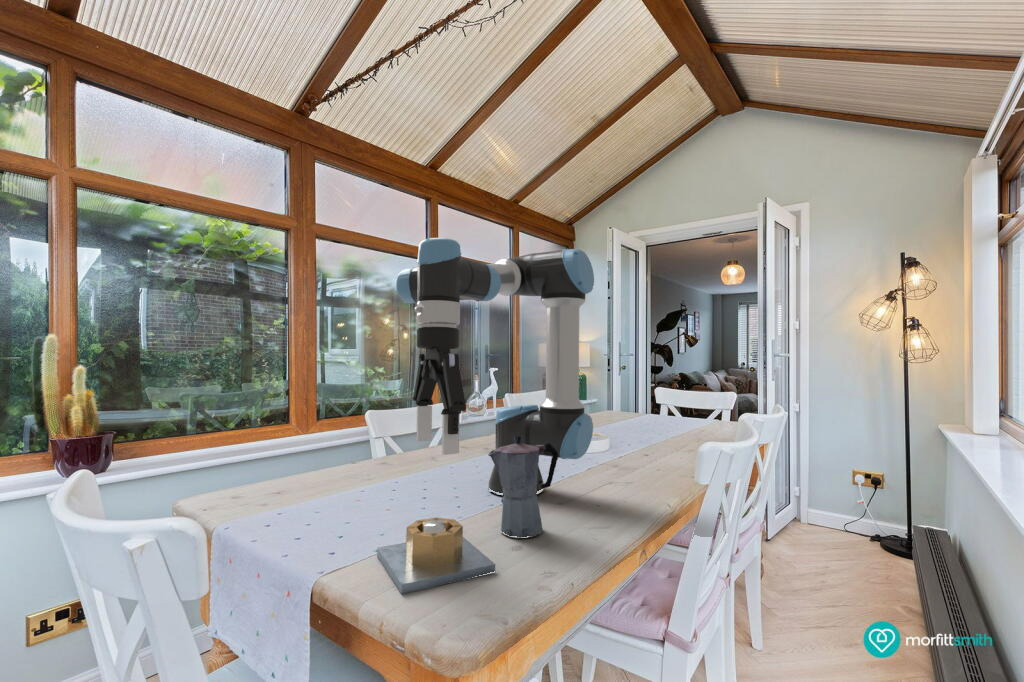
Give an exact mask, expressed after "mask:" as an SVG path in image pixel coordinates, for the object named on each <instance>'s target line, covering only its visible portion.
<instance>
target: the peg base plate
mask: <svg viewBox="0 0 1024 682" xmlns="http://www.w3.org/2000/svg"><path fill="white" fill-rule="evenodd" d="M445 529H446V523H445V522H444V521H440V520H431V521H427V522H425V523H424V532H427V533H439V532H445ZM376 549H377V551H376V557H377V558H378V560H379V561H380V563H381V564H382V566H383V567H384V569H385V571H386V572H387V574H388V575H389V577H390V578H391V580H392V582H393V583H394V584H395V587H396V588H397V589H398V591H399V592H400V594H401V595H405V594H410V593H413V592H418V591H422V590H425V589H426V590H427V589H431V588H435V587H440V586H444V585H443V584H445V585H447V584H446V583H449V584H451V583H450V582H454V583H456V582H455V581H458V582H461V581H460V580H463V579H467V580H469V579H468V578H471V579H473V578H472V577H475V576H479V575H483V574H487V573H490V572H494V571H495V572H496V563H495V562H494V561H493V560H491V559H490V558H489V557H488V556H486V554H484V553H483V552H482V551H480V550H479V549H478V548H477V547H476V546H475V545H474V544H472V543H471V542H470V541H469V540H467V539H466V538H465V537H464V536H463V545H462V555H461V556H460V558H459V559H458V560H457V561H456V562H455V563H452V564H448V565H443V566H438V567H426V566H419V565H412V563H411V562H410V561H409V559H408V558H407V557H406V542H401V543H396V544H391V545H385V546H380V547H376ZM463 581H464V580H463Z"/></svg>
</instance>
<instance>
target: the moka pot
mask: <svg viewBox="0 0 1024 682" xmlns="http://www.w3.org/2000/svg"><path fill="white" fill-rule="evenodd" d="M514 441H515V444H511V445H507V446H503V447H499V448H498V449H492V450H491V451H489V453H487V456H488V457H490V458H491V461H492V462H493V466H494V465H495V467H496V469H497V471H498V473H499V476H500V482H501V486H502V487H503V495H504V496H502V497H501V503H502V510H501V512H502V514H501V523H500V524H501V525H500V527H501V528H500V532H501V531H502V532H504V533H505V534H507V535H509V536H517V537H527V536H534V537H536V536H535V535H537V534H539V533H540V532H541V533H543V524H542V517H541V512H540V505H539V500H538V495H537V494H536V493H537V478H538V465H539V462H540V460H539V459H540V455H539V454H544V453H546V452H551V453H552V454H553V456H552V457H551V459H550V460H551V461H550V465H549V468H548V469H549V470H548V476H547V479H546V481H545V482H544V484H540V487H541V489H542V488H544V489H546V488H550V487H551V486H552V485H551V484H552V481H553V478H554V473H555V469H556V466H557V461H558V459H559V458H558V452H557V451H556V450H555V448H553V447H552V445H551V444H550V443H547V444H544V445H535V446H531V445H526V444H521V443H520V442H521V436H515V437H514ZM541 533H540V534H541ZM540 534H539V535H540ZM537 536H538V535H537Z"/></svg>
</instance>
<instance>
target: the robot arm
mask: <svg viewBox="0 0 1024 682" xmlns="http://www.w3.org/2000/svg"><path fill="white" fill-rule="evenodd" d="M416 265H417V267H411V268H406V269H403V270H401V271H400V272H399V273H398V275H397V277H396V280H395V286H396V287H395V288H396V293H397V295H398V296H399V298H400V299H401V301H403V302H404V303H407V304H416V305H417V306H414V308H413V309H414V312H416V313H417V315H416V317H417V318H416V322H417V323H416V324H418V325H420V327H417V329H416V348H417V349H421V350H422V349H423V350H424V349H425V353H419V355H418V366H417V367H418V368H417V372H416V378H415V384H414V390H413V396H412V401H413V402H415V405H416V439H415V440H416V442H426V441H432V437H433V436H432V434H433V433H432V431H433V429H432V428H433V425H432V424H433V406H434V401H433V399H432V398H433V395H434V392H435V388H436V386H438V391H439V393H440V399H441V403H442V404H443V405H442V406H443V409H442V411H441V412H440V414H441V416H442V421H441V422H442V426H441V427H442V429H441V430H442V431H441V432H442V433H441V434H442V435H441V454H442V456H443V455H455V454H456V455H457V454H460V418H461V417H460V414H462V412H465V411H466V409H467V405H466V399H465V393H464V388H463V381H462V376H461V369H460V356H459V353H451V350H456V349H457V350H458V348H459V346H460V330H459V328H457V326H459V325H460V323H461V321H460V320H461V319H460V318H461V301H475V302H489V301H492V300H494V299H495V297H497V296H498V294H499V295H501V296H504V297H505V296H506V297H508V296H524V297H525V296H526V297H540V302H541V303H542V304H543V305H544V307H545V308H546V320H545V321H546V326H545V327H546V328H545V330H546V335H545V343H546V344H545V346H546V347H545V399H543V401H542V402H541V403H540V405H537V404H525V405H513V406H506V407H505V406H504V407H500V408H499V409H498V410H497V411H496V413H495V414H496V416H495V423H494V425H495V449H498V448H499V447H503V446H507V445H511V444H515V441H514V437H515V436H521V442H520V443H521V444H526V445H531V446H535V445H544V444H547V443H550V444H551V445H552V447H553V448H555V450H556V451H557V452H558V459H562V460H579V459H581V458H582V457H583V456H585V454H586V453H587V451H588V450H589V448H590V445H591V443H592V439H593V432H594V423H593V419H592V416H590V415H589V414H588V413H585V405H584V404H583V402H581V400H580V398H579V397H580V390H579V389H580V381H579V380H580V378H579V377H580V308H581V306H582V305H584V304H585V302H586V294H587V295H588V294H589V293H592V291H593V289H594V286H595V276H594V275H595V274H594V269H593V265H592V263H591V260H590V259H589V256H588V254H587V253H586V252H585V251H583V250H582V249H580V248H570V249H569V248H563V249H559V250H552V251H550V250H549V251H544V252H543V251H542V252H535V253H527V254H524V255H520V256H517V257H512V258H506V259H505V258H503V259H500V260H498V261H496V262H495V263H486V262H483V261H482V262H480V261H478V260H477V261H476V260H473V259H469V258H465V257H463V256H462V252H461V245H460V243H459V242H458V241H457V240H454V239H452V238H447V237H445V238H444V237H429V238H426V239H423V240H422V241H421V242H420V243H419V244H418V253H417V262H416ZM495 449H494V450H495ZM539 456H545V457H550V458H552V456H553V454H552V453H551V452H546V453H544V454H539ZM544 483H545V482H544V479H543V476H542V473H541V469H540V466H539V464H538V478H537V491H539V490H541V487H540V484H544ZM489 488H490V489H491V490H493V491H495V492H499V493H503V487H502V486H501V482H500V476H499V473H498V471H497V469H496V467H495V465H494V464H493V467H492V471H491V474H490V477H489V480H488V489H489ZM542 489H543V488H542Z"/></svg>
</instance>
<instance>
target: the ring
mask: <svg viewBox="0 0 1024 682" xmlns="http://www.w3.org/2000/svg"><path fill="white" fill-rule="evenodd" d="M431 520H440V521H444V522H445V523H446V529H445V532H439V533H427V532H424V523H425V522H427V521H431ZM463 533H464V526H463V525H462V523H460V522H458V521H457V520H456V519H451V518H443V517H431V518H430V517H429V518H424V519H418V520H415V521H414V522H413V523H411V524H409V525H408V526H406V535H405V539H406V541H405V543H406V557H407V558H408V559H409V561H410V562H411V563H412V565H419V566H426V567H438V566H443V565H448V564H452V563H455V562H456V561H457V560H458V559H459V558H460V556H461V555H462V545H463V537H464V536H463Z"/></svg>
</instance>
